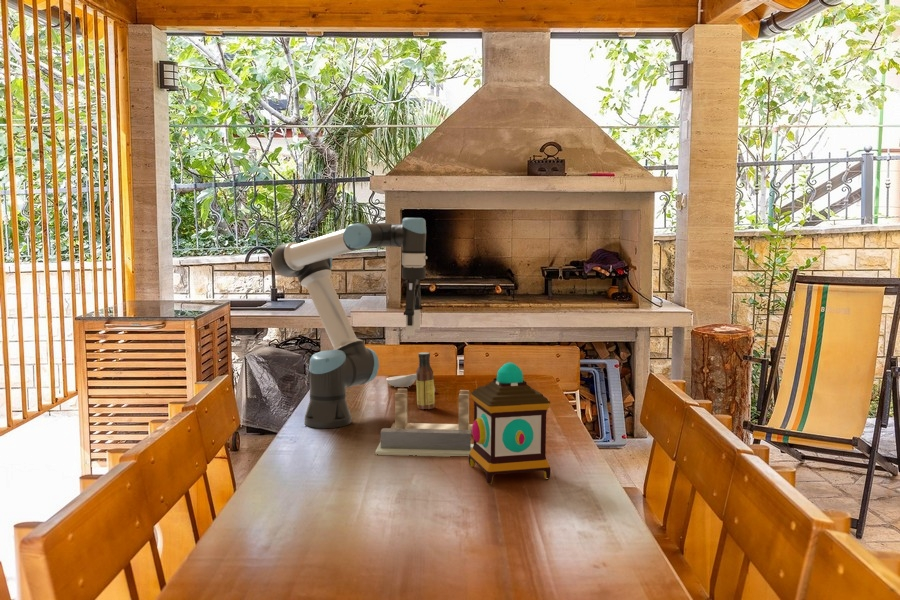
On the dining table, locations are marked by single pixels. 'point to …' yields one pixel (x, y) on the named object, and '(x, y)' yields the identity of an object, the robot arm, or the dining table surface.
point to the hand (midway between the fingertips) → (413, 332)
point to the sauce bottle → (425, 382)
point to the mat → (421, 452)
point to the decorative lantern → (509, 426)
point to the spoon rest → (402, 381)
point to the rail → (425, 439)
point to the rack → (402, 423)
